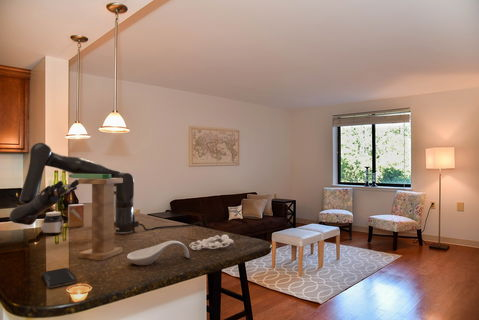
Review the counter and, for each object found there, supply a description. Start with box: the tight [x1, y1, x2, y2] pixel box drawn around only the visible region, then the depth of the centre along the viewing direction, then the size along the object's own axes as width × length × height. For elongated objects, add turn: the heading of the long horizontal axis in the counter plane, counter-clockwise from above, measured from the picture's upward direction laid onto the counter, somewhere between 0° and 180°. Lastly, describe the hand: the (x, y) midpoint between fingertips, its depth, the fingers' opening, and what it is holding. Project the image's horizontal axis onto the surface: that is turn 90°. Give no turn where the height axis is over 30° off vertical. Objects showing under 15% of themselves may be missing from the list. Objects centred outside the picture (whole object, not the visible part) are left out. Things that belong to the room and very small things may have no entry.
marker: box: [68, 173, 111, 179], centre depth 137 cm, size 21×2×2 cm, turn 71°
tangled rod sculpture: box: [188, 234, 234, 252], centre depth 146 cm, size 19×14×4 cm
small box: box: [67, 203, 85, 228], centre depth 197 cm, size 8×6×13 cm
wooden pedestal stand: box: [78, 178, 124, 261], centre depth 135 cm, size 14×12×32 cm
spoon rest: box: [126, 240, 191, 266], centre depth 126 cm, size 24×12×7 cm, turn 116°
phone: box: [42, 267, 77, 289], centre depth 107 cm, size 8×1×15 cm
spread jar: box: [40, 211, 64, 237], centre depth 176 cm, size 12×11×12 cm
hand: (70, 181), depth 140 cm, fingers open, 8 cm apart
